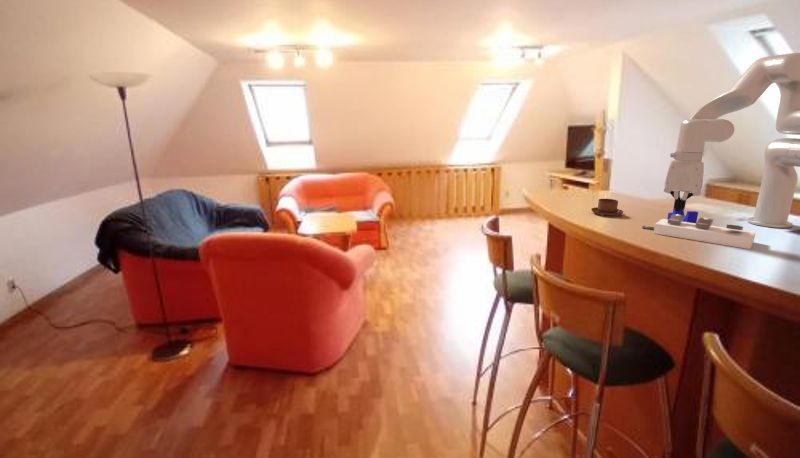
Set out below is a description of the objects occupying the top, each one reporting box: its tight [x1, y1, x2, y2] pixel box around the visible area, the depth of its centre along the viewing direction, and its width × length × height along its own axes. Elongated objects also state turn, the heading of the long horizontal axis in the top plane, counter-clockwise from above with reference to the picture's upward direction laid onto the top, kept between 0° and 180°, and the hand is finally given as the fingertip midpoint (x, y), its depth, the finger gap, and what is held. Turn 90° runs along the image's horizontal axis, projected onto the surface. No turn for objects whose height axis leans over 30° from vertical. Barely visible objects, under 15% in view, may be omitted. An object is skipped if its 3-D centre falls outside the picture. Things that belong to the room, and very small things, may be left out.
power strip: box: [641, 218, 757, 250], centre depth 138 cm, size 10×31×4 cm, turn 45°
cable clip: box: [667, 207, 699, 223], centre depth 154 cm, size 12×4×6 cm, turn 170°
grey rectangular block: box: [725, 224, 744, 230], centre depth 130 cm, size 6×4×1 cm, turn 136°
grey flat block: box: [667, 214, 686, 225], centre depth 141 cm, size 6×4×1 cm, turn 134°
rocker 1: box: [696, 217, 714, 229], centre depth 135 cm, size 6×4×1 cm, turn 134°
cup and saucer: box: [591, 198, 624, 217], centre depth 170 cm, size 12×12×6 cm
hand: (678, 210), depth 141 cm, fingers closed
